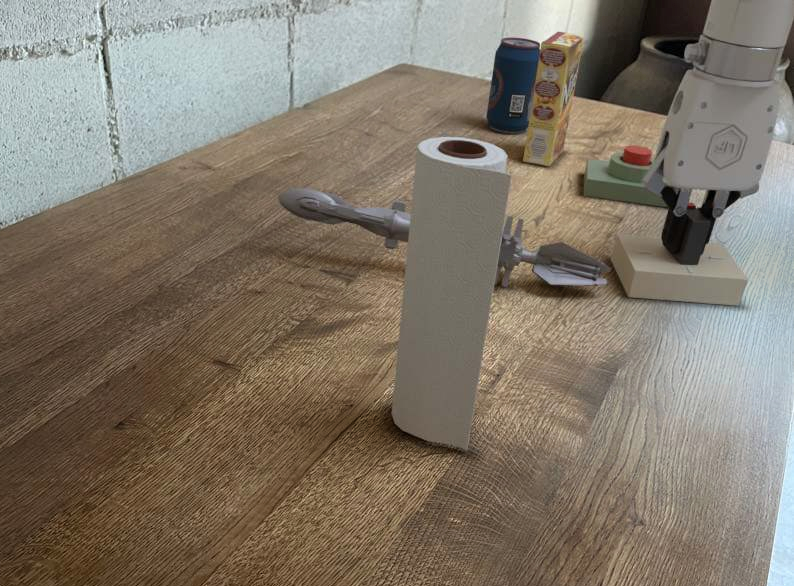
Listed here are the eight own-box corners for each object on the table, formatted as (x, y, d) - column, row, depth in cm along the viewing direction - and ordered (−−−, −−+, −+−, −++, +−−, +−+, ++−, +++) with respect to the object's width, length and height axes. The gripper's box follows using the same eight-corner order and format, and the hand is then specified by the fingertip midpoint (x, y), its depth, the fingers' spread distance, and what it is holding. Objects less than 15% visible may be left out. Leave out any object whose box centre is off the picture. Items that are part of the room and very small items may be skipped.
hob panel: (713, 267, 105) (722, 240, 103) (739, 306, 97) (749, 277, 95) (610, 259, 104) (616, 232, 102) (627, 297, 97) (635, 268, 95)
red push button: (648, 161, 122) (651, 147, 121) (649, 169, 120) (653, 155, 118) (621, 157, 123) (624, 143, 122) (621, 165, 120) (625, 151, 119)
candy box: (549, 168, 128) (572, 46, 119) (520, 162, 129) (540, 41, 120) (564, 151, 135) (586, 35, 125) (536, 146, 136) (556, 30, 126)
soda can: (481, 120, 144) (493, 34, 136) (524, 123, 145) (538, 38, 137) (489, 133, 139) (502, 45, 131) (534, 136, 140) (549, 48, 132)
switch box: (671, 186, 126) (679, 156, 124) (675, 208, 119) (684, 177, 117) (584, 174, 127) (590, 144, 125) (583, 195, 120) (590, 164, 118)
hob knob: (698, 265, 97) (712, 219, 94) (680, 264, 97) (693, 219, 94) (680, 246, 101) (693, 202, 98) (663, 245, 101) (675, 201, 98)
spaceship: (292, 160, 97) (279, 152, 90) (612, 237, 98) (626, 235, 90) (278, 237, 100) (264, 235, 92) (591, 312, 100) (603, 316, 92)
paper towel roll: (392, 398, 77) (418, 129, 63) (464, 404, 77) (505, 137, 63) (389, 446, 71) (417, 162, 58) (467, 452, 71) (512, 171, 58)
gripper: (672, 66, 83) (622, 262, 94) (833, 76, 85) (765, 266, 97) (643, 46, 88) (600, 233, 100) (796, 56, 91) (736, 238, 103)
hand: (682, 248), depth 98 cm, fingers closed on hob knob, 2 cm apart
